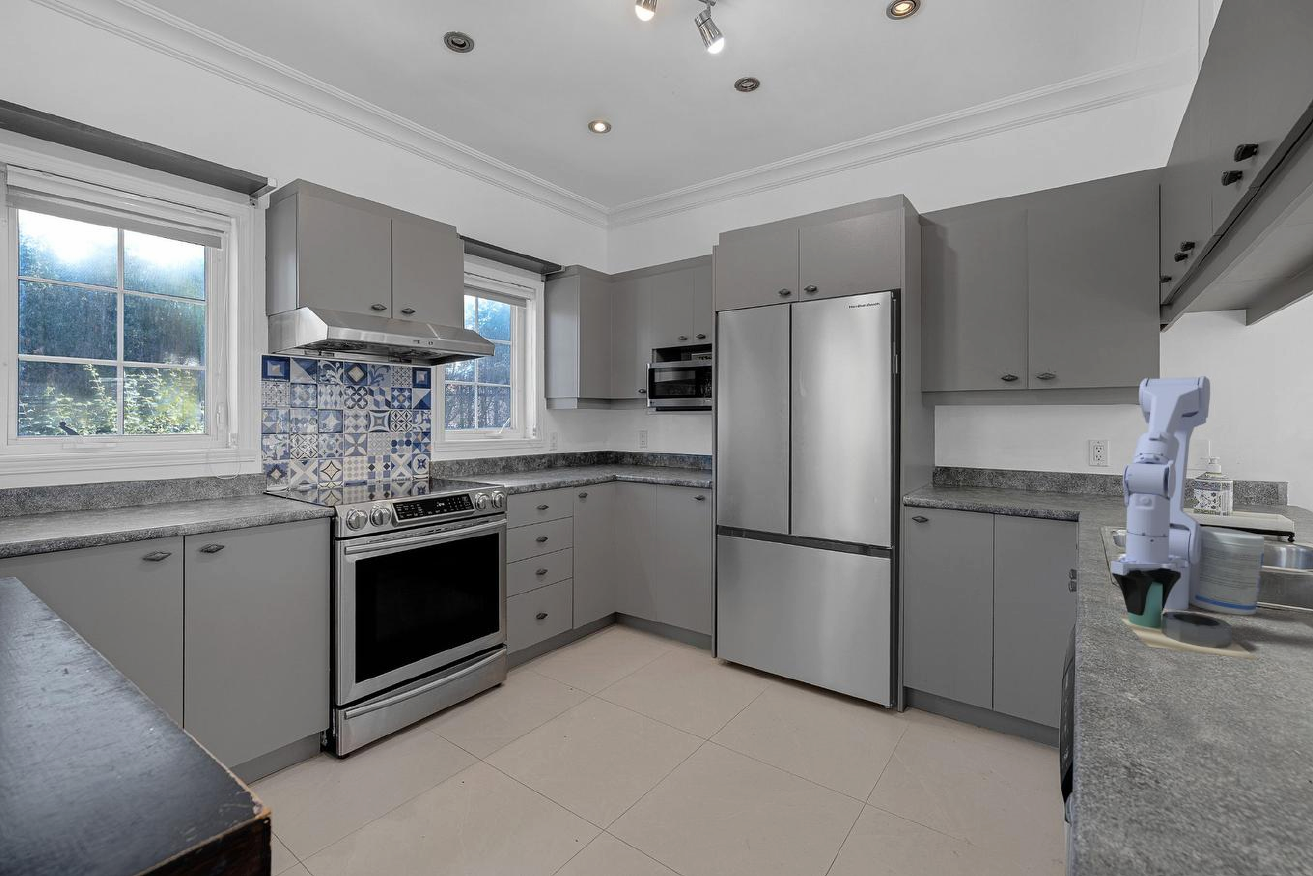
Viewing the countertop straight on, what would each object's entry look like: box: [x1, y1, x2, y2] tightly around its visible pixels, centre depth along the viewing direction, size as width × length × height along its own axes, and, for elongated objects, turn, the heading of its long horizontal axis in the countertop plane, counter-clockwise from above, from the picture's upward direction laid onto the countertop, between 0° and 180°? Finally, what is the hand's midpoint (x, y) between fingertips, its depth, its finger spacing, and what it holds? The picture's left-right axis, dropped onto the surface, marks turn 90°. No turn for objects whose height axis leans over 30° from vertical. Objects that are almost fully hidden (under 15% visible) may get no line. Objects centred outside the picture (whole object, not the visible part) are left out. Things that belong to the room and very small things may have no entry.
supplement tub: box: [1189, 526, 1266, 616], centre depth 112 cm, size 10×10×15 cm
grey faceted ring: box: [1162, 610, 1232, 648], centre depth 97 cm, size 8×8×3 cm
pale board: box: [1117, 614, 1260, 661], centre depth 98 cm, size 16×13×1 cm
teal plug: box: [1128, 581, 1163, 628], centre depth 104 cm, size 4×4×7 cm
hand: (1144, 612), depth 104 cm, fingers closed on teal plug, 4 cm apart
